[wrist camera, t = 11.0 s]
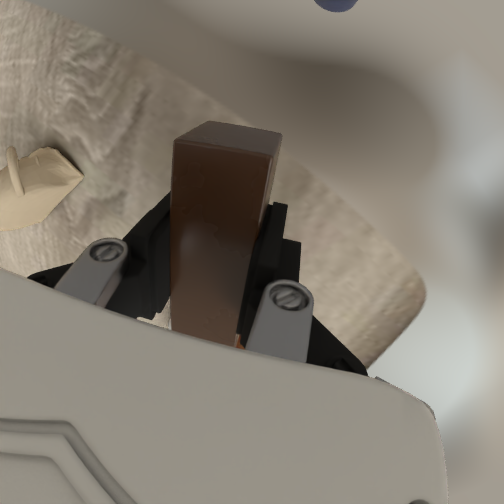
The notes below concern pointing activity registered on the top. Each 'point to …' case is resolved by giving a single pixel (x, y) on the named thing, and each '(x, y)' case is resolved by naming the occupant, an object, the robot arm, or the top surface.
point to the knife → (216, 223)
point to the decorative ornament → (34, 186)
